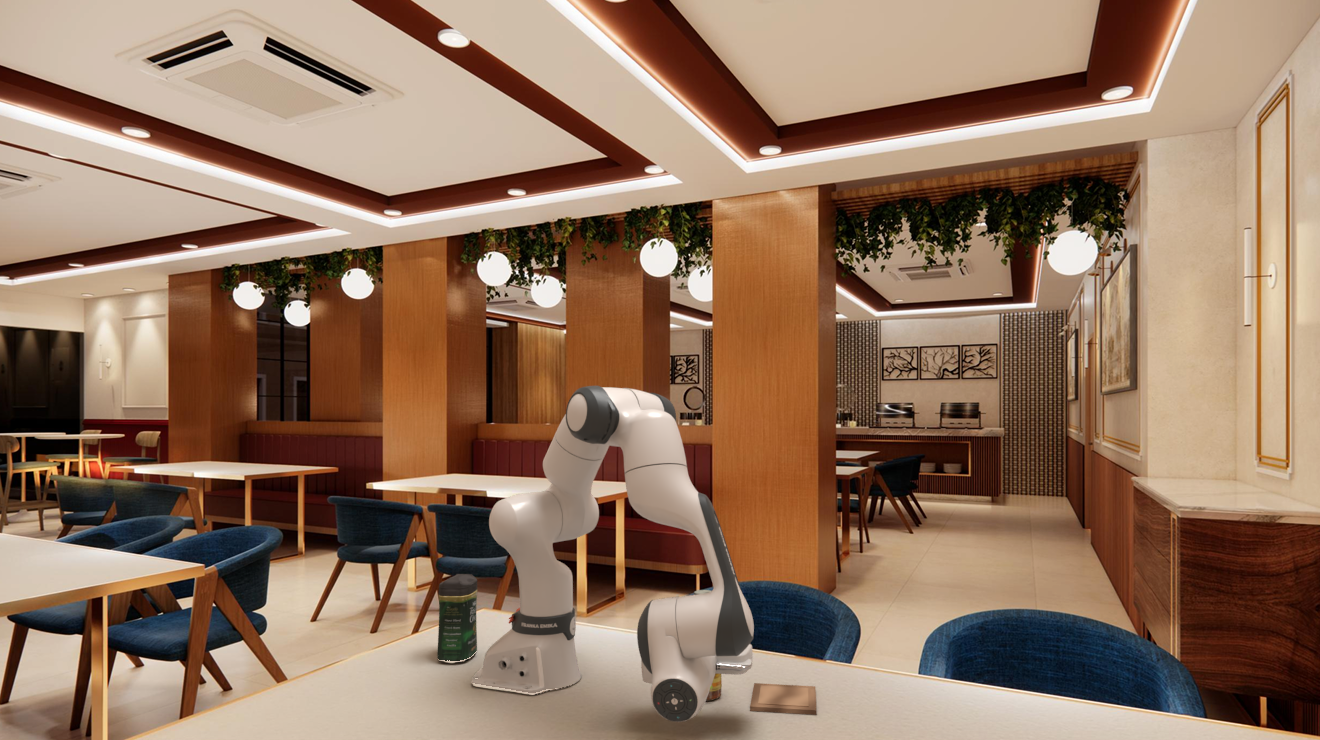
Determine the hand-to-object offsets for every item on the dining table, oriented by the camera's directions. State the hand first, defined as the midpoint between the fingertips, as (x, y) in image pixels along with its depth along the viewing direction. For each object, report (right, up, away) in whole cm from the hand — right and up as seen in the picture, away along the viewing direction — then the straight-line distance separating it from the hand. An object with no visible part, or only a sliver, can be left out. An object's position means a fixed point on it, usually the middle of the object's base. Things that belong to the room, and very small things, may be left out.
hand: (701, 641), depth 140 cm
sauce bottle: (+1, -12, +3) cm, 12 cm away
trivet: (+16, -11, 0) cm, 19 cm away
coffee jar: (-54, -14, +28) cm, 63 cm away
